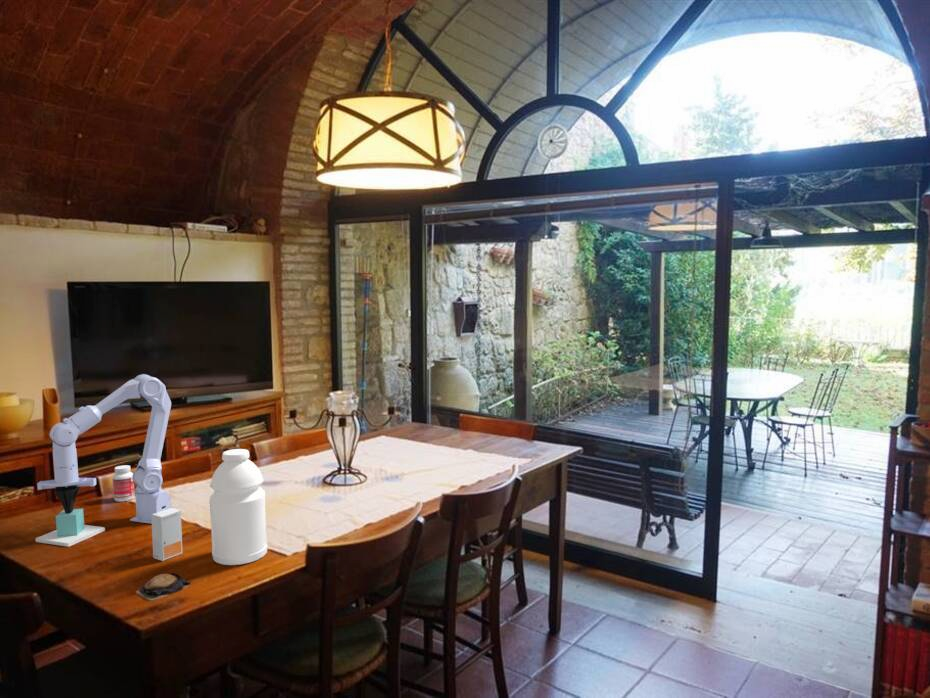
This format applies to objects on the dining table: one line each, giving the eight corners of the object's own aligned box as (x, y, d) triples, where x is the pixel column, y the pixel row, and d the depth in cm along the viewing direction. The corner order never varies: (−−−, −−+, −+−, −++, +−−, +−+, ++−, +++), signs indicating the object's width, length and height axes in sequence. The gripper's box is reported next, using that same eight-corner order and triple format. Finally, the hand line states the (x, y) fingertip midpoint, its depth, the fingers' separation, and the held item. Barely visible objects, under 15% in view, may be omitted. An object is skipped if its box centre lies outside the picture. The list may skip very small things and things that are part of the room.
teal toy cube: (84, 528, 188) (83, 508, 188) (77, 535, 183) (75, 514, 183) (64, 529, 187) (63, 509, 187) (57, 536, 182) (55, 516, 182)
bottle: (225, 544, 179) (220, 444, 176) (274, 544, 178) (270, 444, 175) (203, 566, 165) (197, 458, 162) (256, 566, 164) (252, 459, 161)
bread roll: (150, 605, 146) (149, 589, 146) (133, 594, 152) (132, 579, 151) (195, 587, 155) (194, 572, 154) (177, 577, 160) (176, 563, 160)
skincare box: (162, 561, 168) (160, 517, 166) (152, 558, 170) (150, 514, 169) (183, 553, 173) (181, 510, 172) (174, 550, 175) (171, 507, 174)
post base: (104, 530, 189) (103, 512, 189) (68, 546, 178) (67, 527, 177) (73, 526, 193) (71, 508, 192) (35, 541, 181) (34, 522, 181)
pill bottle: (135, 499, 216) (133, 467, 215) (115, 503, 213) (112, 470, 212) (133, 494, 221) (131, 463, 220) (113, 498, 218) (111, 466, 217)
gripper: (98, 460, 188) (102, 505, 190) (43, 463, 186) (47, 508, 187) (89, 466, 182) (93, 513, 183) (32, 470, 179) (36, 517, 180)
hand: (69, 511), depth 185 cm, fingers closed
